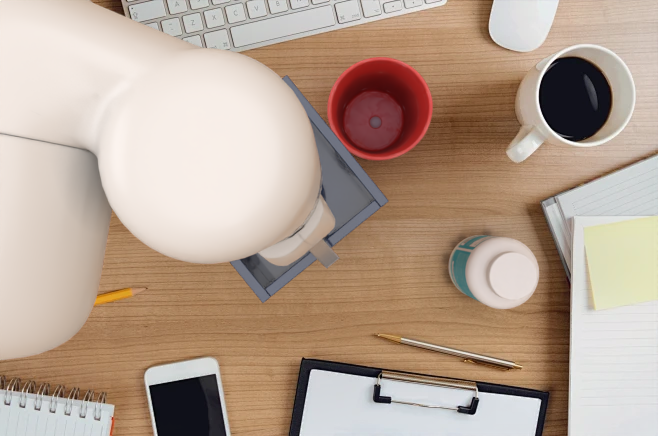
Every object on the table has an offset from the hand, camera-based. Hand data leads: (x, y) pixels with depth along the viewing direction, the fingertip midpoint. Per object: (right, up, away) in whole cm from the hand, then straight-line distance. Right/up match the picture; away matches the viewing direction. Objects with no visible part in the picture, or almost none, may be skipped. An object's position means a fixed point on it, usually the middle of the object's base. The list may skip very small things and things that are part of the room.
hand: (280, 190), depth 50 cm
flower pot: (+9, +9, +23) cm, 26 cm away
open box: (0, 0, +2) cm, 2 cm away
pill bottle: (+22, -8, +23) cm, 32 cm away
